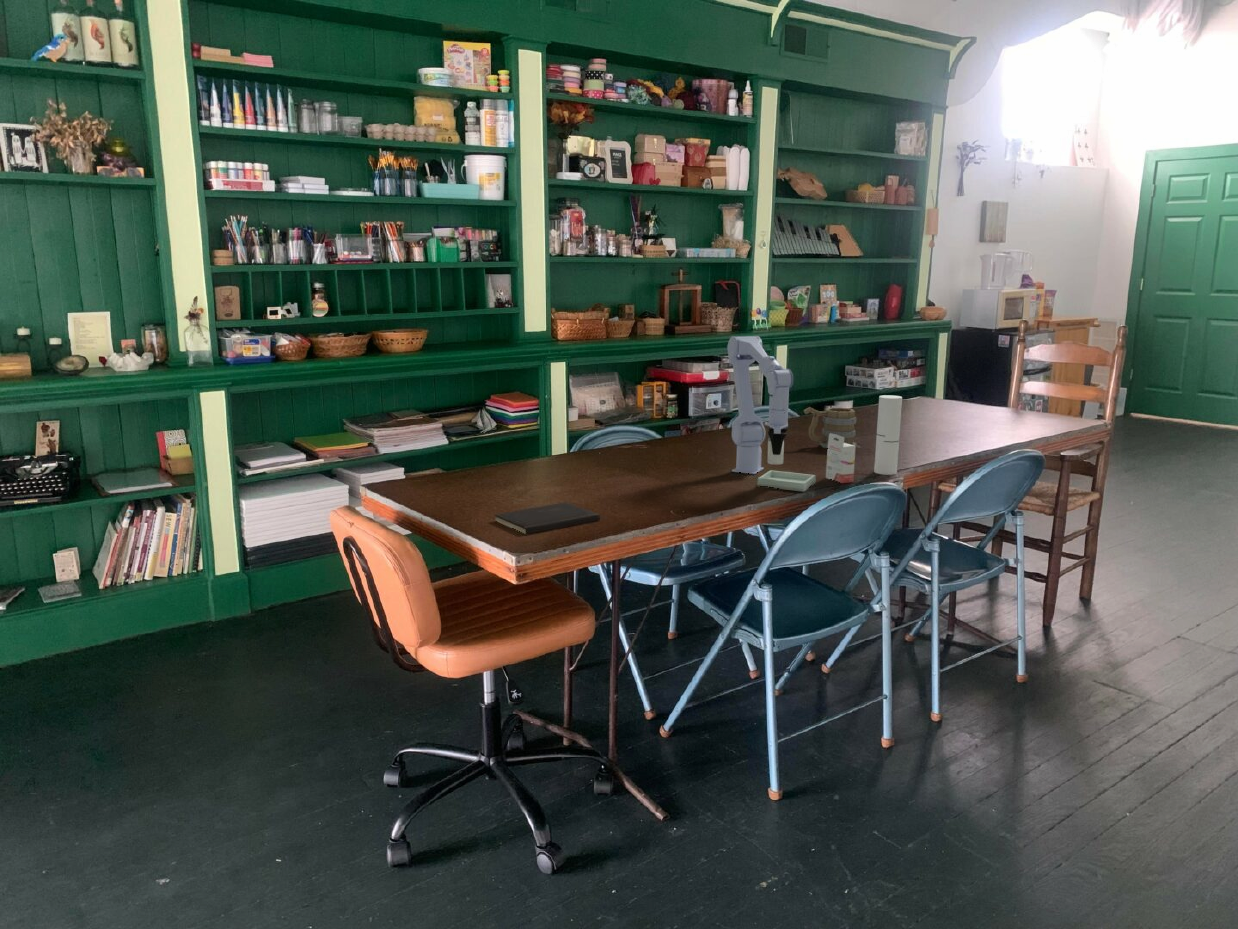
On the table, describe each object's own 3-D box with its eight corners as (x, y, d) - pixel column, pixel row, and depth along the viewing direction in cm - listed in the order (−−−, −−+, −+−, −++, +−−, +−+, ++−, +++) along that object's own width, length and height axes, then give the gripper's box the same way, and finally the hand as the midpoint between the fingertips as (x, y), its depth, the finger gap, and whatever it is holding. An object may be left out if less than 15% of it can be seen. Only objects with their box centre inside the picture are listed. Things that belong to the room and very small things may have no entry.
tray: (770, 477, 298) (770, 470, 298) (815, 483, 292) (815, 475, 291) (757, 486, 287) (757, 478, 287) (804, 491, 281) (804, 483, 280)
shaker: (767, 461, 291) (768, 435, 289) (783, 461, 290) (783, 436, 289) (767, 464, 286) (768, 438, 285) (783, 464, 286) (784, 438, 284)
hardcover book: (494, 523, 247) (494, 514, 247) (566, 510, 261) (566, 502, 261) (526, 537, 235) (525, 528, 234) (600, 522, 249) (600, 514, 248)
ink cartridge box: (854, 482, 293) (857, 436, 290) (841, 483, 291) (844, 437, 288) (837, 476, 301) (840, 431, 298) (824, 477, 299) (827, 432, 296)
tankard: (850, 443, 355) (852, 404, 352) (859, 450, 343) (862, 409, 340) (797, 443, 355) (799, 404, 352) (805, 450, 343) (807, 409, 339)
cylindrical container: (881, 468, 312) (886, 394, 307) (900, 472, 307) (906, 396, 302) (870, 472, 307) (875, 396, 302) (889, 475, 303) (895, 399, 297)
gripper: (766, 405, 293) (764, 447, 295) (764, 412, 279) (762, 456, 281) (789, 405, 291) (787, 448, 294) (788, 413, 277) (786, 457, 280)
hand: (776, 452), depth 288 cm, fingers closed on shaker, 5 cm apart
